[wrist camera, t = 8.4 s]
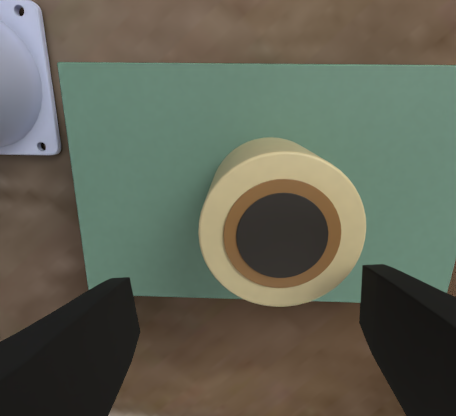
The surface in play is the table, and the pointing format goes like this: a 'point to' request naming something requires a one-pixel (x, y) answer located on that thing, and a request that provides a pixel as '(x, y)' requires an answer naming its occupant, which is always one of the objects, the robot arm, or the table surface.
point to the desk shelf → (246, 131)
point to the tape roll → (280, 224)
